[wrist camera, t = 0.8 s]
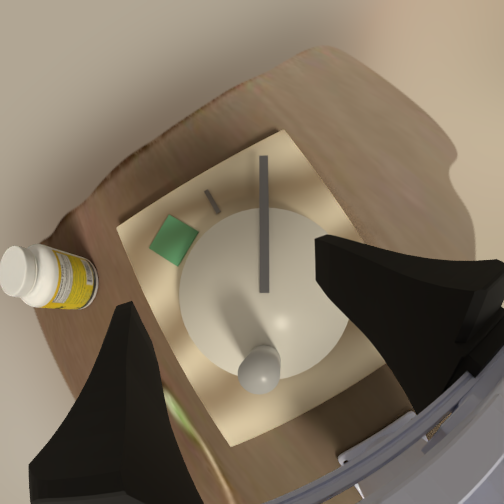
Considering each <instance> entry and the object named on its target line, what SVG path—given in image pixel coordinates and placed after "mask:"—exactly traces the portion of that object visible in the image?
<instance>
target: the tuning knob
mask: <svg viewBox="0 0 504 504" xmlns="http://www.w3.org/2000/svg"><path fill="white" fill-rule="evenodd" d="M326 234H328V233H327V232H326V231H325V230H324V229H323V228H321V227H320V226H319V225H318V224H316V223H315V222H313V221H312V220H310V219H308V218H307V217H304V216H302V215H300V214H298V213H295V212H292V211H288V210H284V209H278V208H269V189H268V155H264V156H259V208H255V209H249V210H245V211H241V212H238V213H235V214H233V215H230V216H228V217H226V218H224V219H222V220H221V221H219V222H218V223H216V224H215V225H213V226H212V227H211V228H210V229H209V230H208V231H207V232H205V233H204V234H203V236H202V237H201V238H200V239H199V240H198V241H197V243H196V244H195V246H194V247H193V249H192V250H191V252H190V254H189V256H188V258H187V260H186V262H185V265H184V268H183V270H182V275H181V279H180V287H179V304H180V310H181V315H182V318H183V322H184V325H185V327H186V329H187V331H188V334H189V336H190V337H191V339H192V340H193V342H194V344H195V345H196V346H197V348H198V349H199V350H200V351H201V352H202V354H203V355H205V356H206V357H207V358H208V359H209V360H210V361H211V362H212V363H214V364H215V365H217V366H218V367H220V368H221V369H223V370H225V371H227V372H229V373H231V374H234V375H237V376H238V380H239V382H240V384H241V386H242V387H243V388H244V389H245V390H246V391H248V392H250V393H253V394H265V393H268V392H270V391H272V390H273V389H274V388H275V387H276V386H277V384H278V382H279V379H283V378H288V377H291V376H294V375H297V374H300V373H302V372H304V371H306V370H308V369H310V368H311V367H313V366H314V365H316V364H317V363H319V362H320V361H321V360H322V359H323V358H324V357H325V356H327V355H328V353H329V352H330V351H331V350H332V349H333V348H334V347H335V345H336V344H337V342H338V341H339V339H340V338H341V336H342V334H343V332H344V330H345V328H346V326H347V323H348V320H349V318H348V317H347V316H346V315H345V314H343V313H342V312H341V310H340V309H339V308H338V307H337V306H336V305H335V304H334V303H333V302H332V301H331V300H330V299H329V298H328V297H327V295H326V294H325V293H324V292H323V290H322V289H321V287H320V286H319V285H318V283H317V282H316V280H315V240H314V239H315V238H318V237H321V236H323V235H326Z"/></svg>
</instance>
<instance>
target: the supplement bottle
mask: <svg viewBox="0 0 504 504" xmlns="http://www.w3.org/2000/svg"><path fill="white" fill-rule="evenodd" d="M0 284H1V287H2V289H3V291H4V292H5V293H6V294H7V295H9V296H13V297H21V299H22V300H23V301H24V302H25V303H26V304H28V305H30V306H32V307H40V308H55V309H74V310H75V309H83V308H85V307H87V306H88V305H90V304H91V302H92V301H93V300H94V298H95V296H96V293H97V289H98V275H97V271H96V269H95V267H94V265H93V264H92V263H91V262H90V261H89V260H88V259H86V258H84V257H81V256H78V255H74V254H71V253H68V252H65V251H61V250H58V249H55V248H52V247H49V246H46V245H42V244H34V245H31V246H29V247H28V248H23V247H20V246H11V247H10V248H8V249H7V250H6V252H5V253H4V255H3V257H2V259H1V263H0Z"/></svg>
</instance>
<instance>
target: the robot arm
mask: <svg viewBox="0 0 504 504" xmlns="http://www.w3.org/2000/svg"><path fill="white" fill-rule="evenodd" d="M314 240H315V280H316V282H317V283H318V285H319V286H320V287H321V289H322V290H323V292H324V293H325V294H326V295H327V297H328V298H329V299H330V300H331V301H332V302H333V303H334V304H335V305H336V306H337V307H338V308H339V309H340V310H341V312H342V313H343V314H345V315H346V316H347V317H348V318H349V319H350V320H351V322H352V323H353V324H354V325H355V326H356V327H357V328H358V329H359V330H360V331H361V332H362V333H363V334H364V335H365V336H366V337H367V338H368V339H369V340H370V342H371V343H372V344H373V346H374V347H375V348H376V350H377V351H378V352H379V353H380V355H381V356H382V358H383V359H384V360H385V362H386V363H387V365H388V366H389V368H390V369H391V370H392V372H393V374H394V375H395V377H396V378H397V380H398V381H399V383H400V385H401V386H402V388H403V390H404V391H405V393H406V395H407V397H408V399H409V400H410V402H411V404H412V406H413V408H414V410H415V412H416V414H417V416H416V414H415V413H414V412H413V411H409V412H407V413H406V414H404V415H403V416H402V417H400V418H399V419H397V420H396V421H394V422H393V423H391V424H390V425H388V426H387V427H385V428H384V429H382V430H381V431H379V432H377V433H376V434H374V435H373V436H371V437H369V438H368V439H366V440H364V441H363V442H361V443H359V444H358V445H356V446H354V447H352V448H351V449H349V450H347V451H345V452H343V453H341V454H340V455H339V456H338V461H339V463H340V464H341V467H339V468H337V469H336V470H334V471H332V472H330V473H328V474H326V475H325V476H323V477H321V478H319V479H317V480H315V481H313V482H311V483H309V484H307V485H305V486H303V487H300V488H298V489H296V490H294V491H292V492H289V493H287V494H285V495H283V496H280V497H278V498H275V499H273V500H271V501H268V502H266V503H263V504H321V503H323V502H325V501H327V500H329V499H331V498H332V497H334V496H336V495H338V494H340V493H342V492H343V491H345V490H347V489H349V488H350V487H352V486H355V487H356V489H357V490H358V492H359V493H360V495H361V496H362V498H363V499H362V500H361V501H359V502H358V503H356V504H504V308H502V307H501V305H502V302H503V300H504V263H503V262H502V261H499V260H497V259H495V260H482V261H450V260H438V259H429V258H422V257H417V256H411V255H406V254H401V253H397V252H393V251H389V250H385V249H381V248H377V247H374V246H370V245H367V244H363V243H360V242H356V241H353V240H350V239H346V238H342V237H338V236H334V235H329V234H326V235H323V236H321V237H318V238H315V239H314ZM451 412H452V414H451V415H450V416H449V417H448V419H447V420H446V421H445V422H444V423H443V424H442V425H441V426H440V427H439V429H438V431H437V432H436V433H435V434H434V435H433V437H432V438H431V439H430V440H429V441H428V439H427V437H426V434H427V433H428V432H429V431H431V430H432V429H433V428H434V427H435V426H436V425H437V424H439V423H440V422H441V421H442V420H443V419H444V418H445V417H446V416H447V415H449V414H450V413H451ZM412 418H413V419H412ZM411 419H412V420H411ZM346 460H348V462H347V463H343V462H344V461H346ZM29 489H30V502H31V504H204V503H203V501H202V499H201V497H200V495H199V493H198V491H197V489H196V487H195V485H194V483H193V481H192V478H191V476H190V474H189V472H188V469H187V467H186V465H185V462H184V460H183V457H182V455H181V452H180V450H179V447H178V445H177V442H176V439H175V436H174V433H173V431H172V428H171V425H170V421H169V417H168V413H167V408H166V403H165V398H164V393H163V388H162V382H161V377H160V371H159V366H158V362H157V358H156V355H155V351H154V348H153V344H152V341H151V339H150V337H149V335H148V333H147V331H146V329H145V327H144V325H143V323H142V321H141V319H140V317H139V314H138V312H137V310H136V308H135V306H134V304H133V302H132V301H130V302H127V303H124V304H121V305H118V306H116V309H115V311H114V314H113V317H112V319H111V322H110V325H109V328H108V331H107V333H106V336H105V339H104V341H103V344H102V347H101V350H100V352H99V354H98V357H97V359H96V362H95V364H94V366H93V369H92V371H91V373H90V375H89V378H88V380H87V382H86V384H85V386H84V387H83V389H82V391H81V393H80V395H79V397H78V398H77V400H76V402H75V403H74V405H73V407H72V408H71V410H70V412H69V413H68V415H67V417H66V418H65V420H64V421H63V422H62V424H61V425H60V427H59V428H58V430H57V431H56V432H55V434H54V435H53V436H52V438H51V439H50V441H49V442H48V443H47V444H46V445H45V446H44V448H43V449H42V450H41V451H40V452H39V454H38V455H37V456H36V457H35V458H34V459H33V461H32V462H31V463H30V464H29Z"/></svg>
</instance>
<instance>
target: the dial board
mask: <svg viewBox="0 0 504 504" xmlns="http://www.w3.org/2000/svg"><path fill="white" fill-rule="evenodd" d="M264 155H268V189H269V208H278V209H284V210H288V211H292V212H295V213H298V214H300V215H302V216H304V217H307V218H308V219H310V220H312V221H313V222H315V223H316V224H318V225H319V226H320V227H321V228H323V229H324V230H325V231H326V232H327V233H328V234H329V235H334V236H338V237H342V238H346V239H350V240H353V241H356V242H360V243H363V244H365V243H364V242H363V240H362V239H361V237H360V235H359V234H358V232H357V231H356V229H355V228H354V226H353V225H352V223H351V222H350V220H349V218H348V217H347V215H346V214H345V212H344V211H343V210H342V208H341V207H340V205H339V204H338V202H337V201H336V199H335V198H334V196H333V195H332V193H331V192H330V191H329V189H328V188H327V186H326V185H325V184H324V182H323V181H322V179H321V178H320V177H319V175H318V174H317V172H316V171H315V170H314V168H313V167H312V166H311V164H310V163H309V162H308V160H307V159H306V158H305V156H304V155H303V154H302V152H301V151H300V150H299V148H298V147H297V146H296V144H295V143H294V142H293V140H292V139H291V138H290V137H289V135H288V134H287V133H286V132H285V130H284V129H283V130H281V131H279V132H277V133H275V134H273V135H271V136H269V137H267V138H265V139H264V140H262V141H260V142H258V143H256V144H254V145H252V146H250V147H248V148H246V149H244V150H243V151H241V152H239V153H237V154H235V155H233V156H232V157H230V158H228V159H226V160H224V161H223V162H221V163H219V164H217V165H215V166H214V167H212V168H210V169H208V170H207V171H205V172H203V173H202V174H200V175H198V176H196V177H195V178H193V179H191V180H190V181H188V182H186V183H185V184H183V185H181V186H180V187H178V188H176V189H175V190H173V191H172V192H170V193H168V194H167V195H165V196H164V197H162V198H160V199H159V200H157V201H156V202H154V203H153V204H151V205H149V206H148V207H146V208H145V209H143V210H142V211H140V212H139V213H137V214H136V215H134V216H133V217H131V218H130V219H128V220H127V221H125V222H124V223H122V224H121V225H119V226H118V227H117V231H118V234H119V236H120V239H121V241H122V244H123V246H124V249H125V251H126V253H127V256H128V258H129V261H130V263H131V265H132V268H133V270H134V272H135V274H136V277H137V279H138V281H139V283H140V286H141V288H142V290H143V292H144V294H145V297H146V299H147V301H148V303H149V305H150V307H151V309H152V311H153V313H154V315H155V317H156V320H157V322H158V324H159V326H160V328H161V330H162V331H163V333H164V335H165V337H166V339H167V341H168V343H169V345H170V347H171V349H172V351H173V352H174V354H175V356H176V358H177V360H178V362H179V364H180V365H181V367H182V369H183V371H184V372H185V374H186V376H187V378H188V379H189V381H190V383H191V385H192V386H193V388H194V390H195V391H196V393H197V395H198V397H199V398H200V400H201V401H202V403H203V405H204V406H205V408H206V410H207V411H208V413H209V414H210V416H211V418H212V419H213V421H214V422H215V424H216V425H217V427H218V428H219V430H220V432H221V433H222V435H223V436H224V438H225V439H226V441H227V442H228V443H229V445H230V446H231V447H232V446H235V445H237V444H240V443H242V442H244V441H247V440H249V439H251V438H254V437H256V436H258V435H260V434H263V433H265V432H267V431H269V430H271V429H273V428H275V427H278V426H280V425H282V424H284V423H286V422H288V421H290V420H292V419H294V418H296V417H298V416H299V415H301V414H303V413H305V412H307V411H309V410H311V409H313V408H314V407H316V406H318V405H320V404H322V403H323V402H325V401H327V400H329V399H330V398H332V397H334V396H335V395H337V394H339V393H341V392H342V391H344V390H345V389H347V388H349V387H350V386H352V385H354V384H355V383H357V382H358V381H360V380H361V379H363V378H365V377H366V376H368V375H369V374H371V373H372V372H374V371H375V370H377V369H378V368H380V367H381V366H382V365H384V364H385V363H386V362H385V360H384V359H383V358H382V356H381V355H380V353H379V352H378V351H377V350H376V348H375V347H374V346H373V344H372V343H371V342H370V340H369V339H368V338H367V337H366V336H365V335H364V334H363V333H362V332H361V331H360V330H359V329H358V328H357V327H356V326H355V325H354V324H353V323H352V322H351V320H350V319H349V320H348V323H347V326H346V328H345V330H344V332H343V334H342V336H341V338H340V339H339V341H338V342H337V344H336V345H335V347H334V348H333V349H332V350H331V351H330V352H329V353H328V355H327V356H325V357H324V358H323V359H322V360H321V361H320V362H319V363H317V364H316V365H314V366H313V367H311V368H310V369H308V370H306V371H304V372H302V373H300V374H297V375H294V376H291V377H288V378H283V379H279V382H278V384H277V386H276V387H275V388H274V389H273V390H272V391H270V392H268V393H265V394H253V393H250V392H248V391H246V390H245V389H244V388H243V387H242V386H241V384H240V382H239V380H238V376H237V375H234V374H231V373H229V372H227V371H225V370H223V369H221V368H220V367H218V366H217V365H215V364H214V363H212V362H211V361H210V360H209V359H208V358H207V357H206V356H205V355H203V354H202V352H201V351H200V350H199V349H198V348H197V346H196V345H195V344H194V342H193V340H192V339H191V337H190V336H189V334H188V331H187V329H186V327H185V325H184V322H183V318H182V315H181V310H180V304H179V287H180V279H181V275H182V270H183V268H184V265H185V262H186V260H187V258H188V256H189V254H190V252H191V250H192V249H193V247H194V246H195V244H196V243H197V241H198V240H199V239H200V238H201V237H202V236H203V234H204V233H205V232H207V231H208V230H209V229H210V228H211V227H212V226H213V225H215V224H216V223H218V222H219V221H221V220H222V219H224V218H226V217H228V216H230V215H233V214H235V213H238V212H241V211H245V210H249V209H255V208H259V156H264Z"/></svg>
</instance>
